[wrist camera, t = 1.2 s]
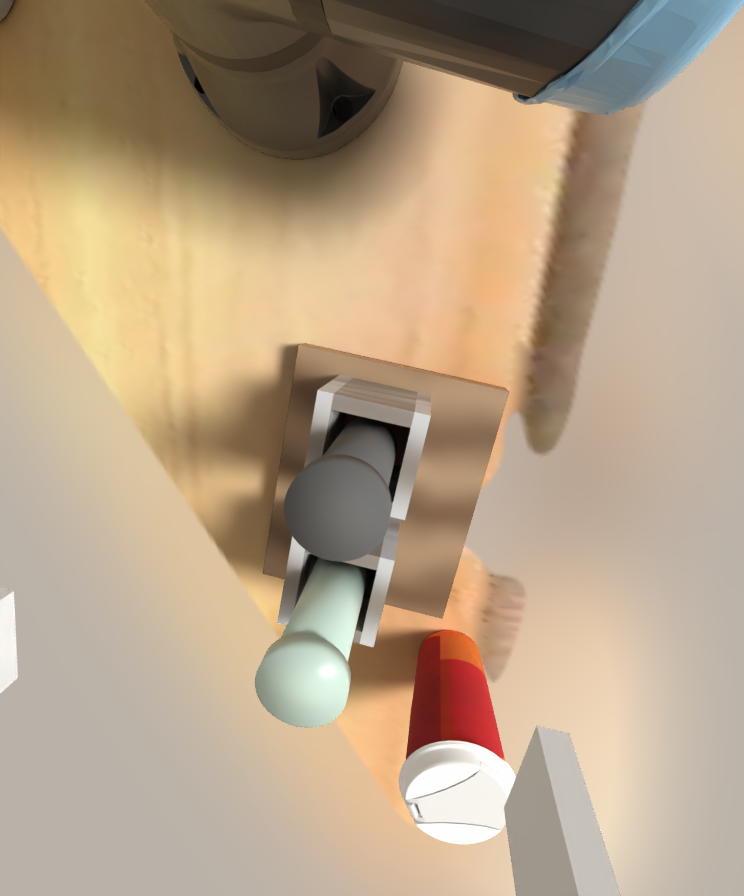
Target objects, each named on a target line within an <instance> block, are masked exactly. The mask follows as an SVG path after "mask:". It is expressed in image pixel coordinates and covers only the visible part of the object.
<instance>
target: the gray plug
mask: <svg viewBox="0 0 744 896" xmlns="http://www.w3.org/2000/svg"><path fill="white" fill-rule="evenodd" d="M396 453H397V440H396V437H395V435H394V433H393V431H392V430H391V428H390V427H389V426H388V425H387V424H385V423H384V422H383V421H378V420H374V419H370V418H365V417H362V418H358V419H355V420H353V421H351V422H350V423H348V424H347V425H346V426H345V427H344V429H343V430H342V431H341V433H340V434H339V435H338V437H337V438H336V439H335V441H334V442H333V443H332V445H331V446H330V447H329V449H328V450H327V451H326V453H325V454H324V455H323V457H320V458H318V459H316V460H314V461H312V462H311V463H309V464H308V465H307V466H305V467H304V468H303V469H302V471H301V472H300V473H299V474H298V475H297V477H296V478H295V479H294V480H293V482H292V483H291V485H290V486H289V488H288V490H287V493H286V496H285V500H284V516H285V521H286V524H287V527H288V529H289V531H290V533H291V534H292V536H293V538H294V539H295V540H296V541H297V543H298V544H299V545H300V546H302V547H303V548H304V549H305V550H307V551H308V552H309V553H311V554H313V555H315V556H317V557H319V558H322V559H325V560H330V561H338V562H342V561H351V560H355V559H358V558H361V557H363V556H365V555H367V554H369V553H370V552H372V551H373V550H374V549H375V548H376V547H377V546H378V545H379V544H380V543H381V541H382V540H383V538H384V536H385V534H386V532H387V529H388V525H389V520H390V515H391V509H392V502H391V495H390V491H389V488H388V487H389V482H390V478H391V474H392V470H393V466H394V462H395V457H396Z"/></svg>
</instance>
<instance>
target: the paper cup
mask: <svg viewBox="0 0 744 896" xmlns="http://www.w3.org/2000/svg"><path fill="white" fill-rule="evenodd" d="M515 779H516V777H515V775H514V772H513V770H512V769H511V767H510V766H509V765H508V763H506V762H505V759H504V754H503V750H502V746H501V741H500V737H499V733H498V728H497V724H496V719H495V716H494V711H493V707H492V702H491V698H490V694H489V690H488V685H487V681H486V677H485V673H484V668H483V664H482V661H481V657H480V653H479V650H478V648H477V646H476V644H475V643H474V642H473V641H472V640H471V639H470V638H469V637H468V636H466V635H465V634H463V633H460V632H457V631H452V630H444V631H439V632H436V633H433V634H431V635H430V636H428V637H427V638H426V639H425V640H424V642H423V643H422V645H421V647H420V651H419V656H418V662H417V669H416V677H415V685H414V693H413V700H412V707H411V715H410V726H409V736H408V745H407V754H406V761H405V762H404V764H403V766H402V768H401V771H400V775H399V787H400V791H401V795H402V797H403V799H404V801H405V803H406V805H407V807H408V809H409V811H410V814H411V816H412V818H414V822H415V824H416V825H417V826H418V827H419V828H420V829H421V830H423V831H424V832H425V833H426V834H428V835H430V836H432V837H434V838H436V839H439V840H442V841H445V842H449V843H455V844H472V843H478V842H482V841H485V840H487V839H489V838H492V837H493V836H495V835H496V834H498V833H499V832H500V831H501V830H502V828H503V826H504V825H505V823H506V820H505V813H504V806H505V804H506V801H507V799H508V796H509V794H510V791H511V789H512V786H513V784H514V781H515Z"/></svg>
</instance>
